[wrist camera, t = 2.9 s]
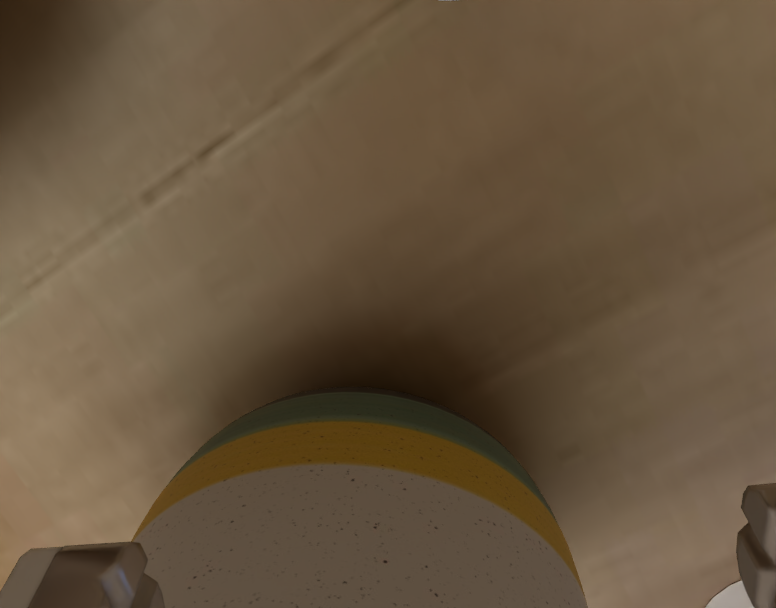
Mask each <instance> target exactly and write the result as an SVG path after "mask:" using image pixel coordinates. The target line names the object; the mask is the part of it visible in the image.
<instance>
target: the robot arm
mask: <svg viewBox="0 0 776 608" xmlns="http://www.w3.org/2000/svg"><path fill="white" fill-rule="evenodd" d="M741 509H742V510H743V512H744V514H745V516H746V518H747V520H748V523H747V524H746V525H745V526H744V527H743V528H742V529H741V530H740V531H739V532H738V536H737V548H736V553H737V560H738V567H739V573H740V576H741V579H742V582H743V585H744V588H745V590H746V592H747V595H748V597H749V599H750V601H751V603H752V605H753V607H755V608H776V483H769V484H759V485H749V486H747V488H746V490H745V491H744V493H743V498H742V505H741ZM147 562H148V558H147V556H146V554H145V552H144V550H143V548H142V546H141V543H137V542H118V543H102V544H86V545H71V546H64V547H50V548H34V549H30V550H29V551H27V552H26V553H25V554H23V555H22V556H21V557H20V558H19V560H18V562H17V563H16V565H15V567H14V569H13V570H12V572H11V574H10V576H9V577H8V579H7V581H6V583H5V584H4V586H3V588H2V590H1V591H0V608H165V605H164V599H163V594H162V591H161V589H160V586H159V584H158V582H157V581H155V580H154V579H153V578H151V577H150V576H148V575H147V574H145V573H144V570H145V568H146V565H147Z"/></svg>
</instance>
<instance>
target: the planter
mask: <svg viewBox="0 0 776 608" xmlns="http://www.w3.org/2000/svg"><path fill="white" fill-rule="evenodd" d="M131 542H137V543H141V546H142V548H143V550H144V552H145V554H146V556H147V558H148V562H147V565H146V568H145V570H144V573H145V574H147V575H148V576H150V577H151V578H153V579H154V580H155V581H157V582H158V584H159V586H160V589H161V591H162V594H163V599H164V605H165V608H588V606H587V602H586V599H585V595H584V592H583V588H582V585H581V582H580V579H579V576H578V572H577V570H576V567H575V564H574V561H573V558H572V555H571V552H570V550H569V547H568V544H567V542H566V540H565V538H564V535H563V533H562V531H561V529H560V527H559V525H558V523H557V521H556V519H555V517H554V515H553V513H552V511H551V509H550V507H549V506H548V504H547V502H546V500H545V499H544V497H543V496H542V494H541V493H540V491H539V489H538V488H537V486H536V485H535V483H534V482H533V480H532V479H531V477H530V476H529V475H528V473H527V472H526V471H525V469H524V468H523V467H522V466H521V465H520V464H519V463H518V461H517V460H516V459H515V458H514V457H513V456H512V454H511V453H510V452H509V451H508V450H507V449H506V448H505V447H504V446H503V445H502V444H501V443H500V442H499V441H497V440H496V439H495V438H494V437H493V436H491V435H490V434H489V433H487V432H486V431H485V430H483V429H482V428H480V427H479V426H477V425H476V424H475V423H473V422H472V421H470V420H469V419H467V418H465V417H464V416H462V415H460V414H459V413H457V412H455V411H453V410H451V409H449V408H447V407H444V406H442V405H440V404H437V403H435V402H432V401H429V400H426V399H423V398H421V397H417V396H414V395H410V394H406V393H402V392H397V391H392V390H386V389H379V388H367V387H337V388H326V389H318V390H312V391H307V392H302V393H298V394H294V395H291V396H287V397H284V398H281V399H279V400H276V401H273V402H271V403H269V404H266V405H264V406H262V407H259V408H257V409H255V410H253V411H251V412H249V413H247V414H245V415H243V416H242V417H240V418H238V419H237V420H235V421H234V422H232V423H231V424H229V425H228V426H227V427H225V428H224V429H223V430H222V431H220V432H219V433H218V434H216V435H215V436H214V437H212V438H211V439H210V440H209V441H208V442H207V443H205V444H204V445H203V446H202V447H201V448H200V449H199V450H198V451H197V452H196V453H195V454H194V455H193V456H192V457H191V458H190V459H189V460H188V461H187V462H186V463H185V465H184V466H183V467H182V468H181V469H180V470H179V471H178V472H177V474H176V475H175V476H174V477H173V479H172V480H171V481H170V482H169V484H168V485H167V486H166V488H165V489H164V490H163V491H162V493H161V494H160V495H159V497H158V498H157V499H156V501H155V502H154V504H153V505H152V507H151V509H150V510H149V512H148V514H147V515H146V517H145V518H144V520H143V522H142V523H141V525H140V527H139V528H138V530H137V532H136V534H135V535H134V537H133V539H132V541H131Z"/></svg>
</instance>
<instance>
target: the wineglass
mask: <svg viewBox="0 0 776 608" xmlns="http://www.w3.org/2000/svg"><path fill="white" fill-rule="evenodd" d="M705 608H755V607H753V605H752V603H751V601H750V599H749V597H748V595H747V592H746V590H745V588H744V585H743V582H742V580H741V581H739V582H737V583H734V584H732V585H730V586H728V587H727V588H726V589H724V590H723V591H721V592H720V593H719V594H717V595H716V596H714V597H713V598H712V599H711V601H710V602H709V603H708V605H707V606H706V607H705Z"/></svg>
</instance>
